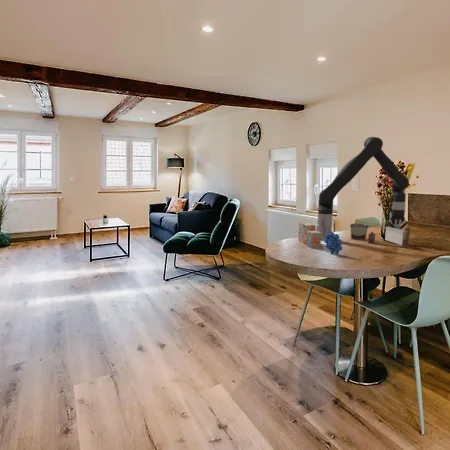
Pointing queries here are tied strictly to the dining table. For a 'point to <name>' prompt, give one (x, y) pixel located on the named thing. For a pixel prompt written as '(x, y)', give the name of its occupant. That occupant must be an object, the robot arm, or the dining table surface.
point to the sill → (389, 244)
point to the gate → (394, 235)
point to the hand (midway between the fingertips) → (396, 235)
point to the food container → (358, 231)
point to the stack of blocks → (309, 235)
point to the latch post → (371, 238)
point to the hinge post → (406, 237)
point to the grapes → (333, 242)
